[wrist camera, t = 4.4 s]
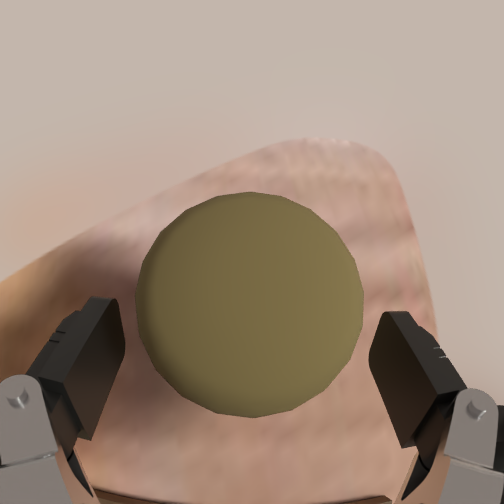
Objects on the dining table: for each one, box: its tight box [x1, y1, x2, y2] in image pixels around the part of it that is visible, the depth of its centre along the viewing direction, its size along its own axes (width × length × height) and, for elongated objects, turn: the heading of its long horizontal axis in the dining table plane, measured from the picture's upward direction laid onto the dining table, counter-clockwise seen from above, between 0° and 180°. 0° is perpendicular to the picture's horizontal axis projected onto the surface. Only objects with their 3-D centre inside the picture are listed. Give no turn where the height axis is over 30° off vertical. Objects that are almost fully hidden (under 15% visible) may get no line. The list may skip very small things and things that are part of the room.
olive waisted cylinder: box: [135, 192, 364, 418], centre depth 11 cm, size 6×6×11 cm
